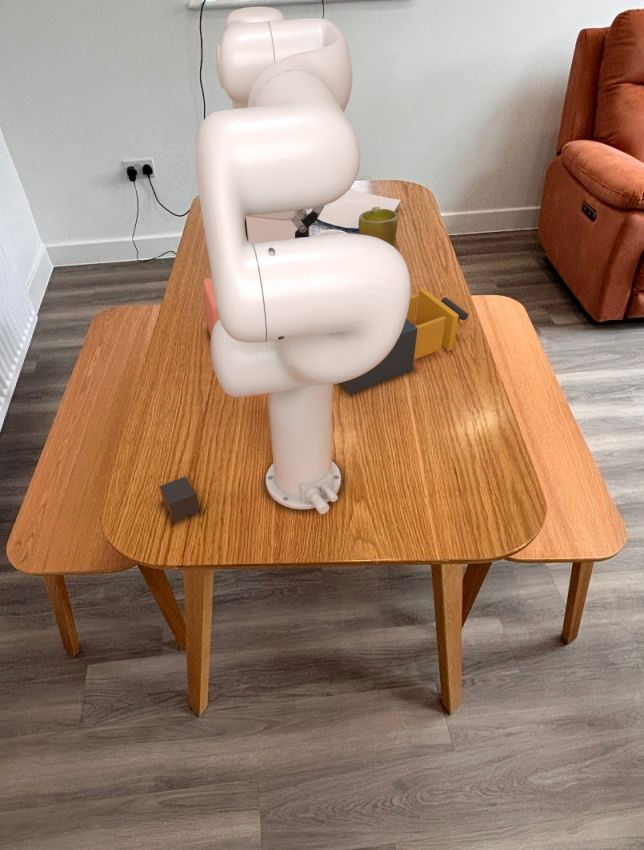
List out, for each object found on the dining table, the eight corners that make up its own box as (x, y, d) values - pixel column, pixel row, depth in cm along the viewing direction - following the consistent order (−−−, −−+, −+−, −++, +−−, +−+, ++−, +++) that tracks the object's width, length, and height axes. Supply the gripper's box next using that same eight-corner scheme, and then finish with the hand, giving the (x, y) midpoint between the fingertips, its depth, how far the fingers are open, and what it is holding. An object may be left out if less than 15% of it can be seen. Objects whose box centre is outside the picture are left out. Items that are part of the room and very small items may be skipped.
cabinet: (377, 338, 134) (380, 296, 126) (412, 370, 126) (417, 328, 119) (317, 360, 129) (316, 318, 122) (349, 394, 122) (351, 352, 115)
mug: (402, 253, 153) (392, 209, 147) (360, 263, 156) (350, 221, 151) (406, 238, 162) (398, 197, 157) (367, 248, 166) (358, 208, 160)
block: (199, 511, 104) (195, 493, 101) (174, 522, 103) (169, 504, 99) (189, 494, 107) (184, 476, 103) (164, 504, 105) (159, 486, 102)
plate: (405, 209, 172) (406, 199, 170) (369, 241, 161) (369, 231, 159) (339, 193, 179) (339, 183, 177) (300, 223, 168) (300, 213, 166)
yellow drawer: (437, 315, 137) (442, 281, 131) (471, 342, 130) (478, 308, 125) (366, 340, 132) (368, 307, 126) (397, 370, 125) (400, 336, 119)
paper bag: (242, 238, 164) (229, 116, 142) (293, 234, 164) (288, 112, 143) (243, 284, 149) (229, 155, 128) (300, 280, 150) (295, 151, 128)
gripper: (192, 130, 85) (210, 254, 98) (315, 141, 81) (317, 269, 94) (215, 111, 90) (229, 232, 102) (333, 121, 85) (332, 245, 98)
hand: (271, 250), depth 98 cm, fingers open, 9 cm apart
